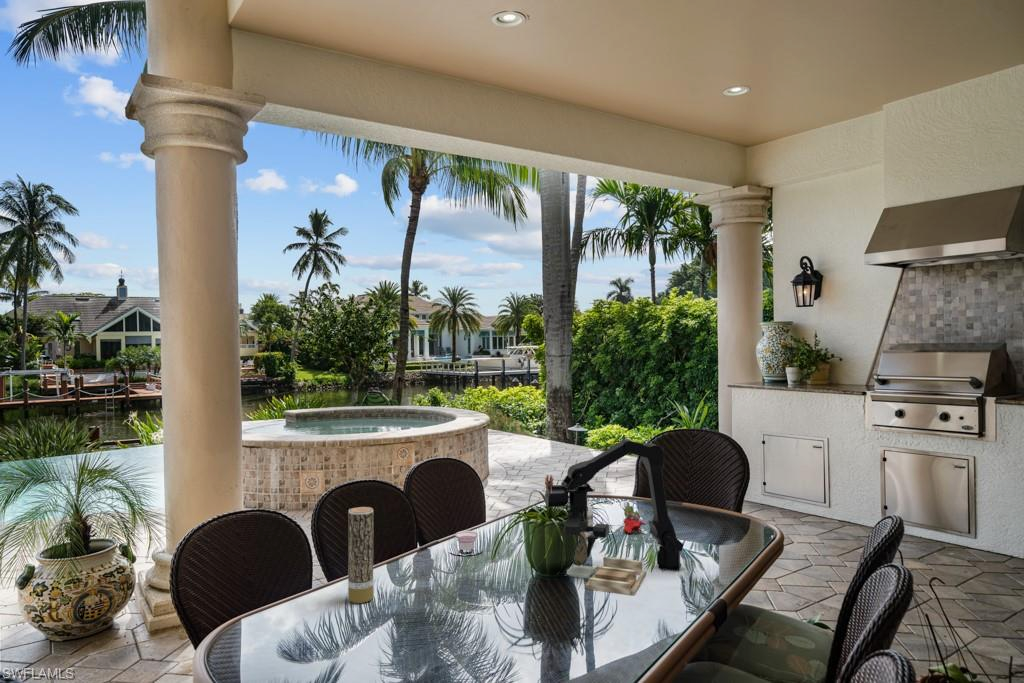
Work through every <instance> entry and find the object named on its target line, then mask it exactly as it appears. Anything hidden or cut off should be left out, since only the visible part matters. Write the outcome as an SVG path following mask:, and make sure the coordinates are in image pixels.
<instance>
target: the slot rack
mask: <svg viewBox="0 0 1024 683" xmlns="http://www.w3.org/2000/svg"><path fill="white" fill-rule="evenodd" d="M602 560H603V562H602V563H603V565H596V566H595V567H596V570H595V571H594V572H593V573H594V574H592V575H591V576H590V577H589V578H588V581H587V582H586V583H585V584H584V589H585V590H594V591H601V592H607V593H615V594H623V595H627V596H635V595H636V593H637V591H638V590H637V589H639V588H640V586H641V584H642V583H643V581H644V579H645V577H646V576H647V571H645V570H643V560H635V559H627V558H619V557H618V558H617V557H610V556H609V557H608V556H604V557H603V558H602ZM599 569H602V570H610V571H618V572H626V573H629V579H630V580H635V584H634V585H633V587H632V589H631V583H628V582H621V581H613V580H605V579H598V578H595V574H596V573H597V571H598V570H599ZM636 574H637V575H636ZM645 575H646V576H645ZM637 576H638V577H637ZM641 582H642V583H641Z"/></svg>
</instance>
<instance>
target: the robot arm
mask: <svg viewBox="0 0 1024 683" xmlns="http://www.w3.org/2000/svg"><path fill="white" fill-rule="evenodd" d="M629 454H631V455H637V456H640V458H641V460H642V463H643V465H644V467H645V469H646V472H647V478H648V484H649V490H650V498H651V504H652V512H653V517H652V519H651V520H648V521H647V522H648V525H649V533H650V534H651V535H652V537H653V539H655V540H656V542H657V544H658V545H659V547H658V549H659V550H658V551H657V555H656V556H657V561H656V562H657V565H658V566H657V568H658V569H660V570H661V569H662V570H667V571H668V570H669V571H677V572H679V571H680V569H681V567H682V563H681V552H682V551H683V548H684V543H682V542H681V541H680V540H679V539H678V538H677V534H676V530H675V528H674V525H673V523H672V520H671V518H670V516H669V514H668V512H669V511H668V507H667V499H666V498H667V497H666V492H665V491H666V490H665V485H664V479H663V478H664V477H663V469H664V466H665V450H664V449H663V448H662V447H660V445H657V444H654V443H652V442H646V443H644V444H643V443H640V442H638V441H637V442H636V441H632V440H630V439H628V438H623V439H622V440H621V441H620V442H618V443H616V444H615V445H612V447H609V448H608V449H607V450H605V451H603V452H602V453H600V454H598V455H596V456H595V457H593V458H591V459H587V460H584V461H580V462H578V463H575V464H573V465H570V466H569V468H567V469H568V470H567V475H566V476H565V477H564V478H563V480H562V481H561V483H560V484H555V485H554V484H551V485H552V493H551V491H550V489H549V486H548V489H549V492H550V496H549V492H548V490H547V488H546V489H545V493H544V503H545V507H546V508H560V507H561V508H562V507H566V505H568V506H569V508H568V511H567V512H568V513H567V517H566V519H565V520H564V522H565V523H564V529H565V531H566V533H567V535H570V536H574V535H575V536H579V535H580V533H581V532H589V533H590V535H589V536H588V537H587V538H588V549H587V557H588V558H590V555H591V554H592V551H593V548H594V544H595V542H596V540H598V539H599V538H602V539H603V538H607V537H608V535H609V534H610V533H611V531H610V526H609V524H607V523H596V524H595V525H593V526H588V515H587V511H588V508H587V500H588V493H593V492H594V491H595V489H594V488H592V487H591V486H590V484H589V482H590V481H591V480H592V479H593V478H594V477H595V476H596V475H597V473H599V472H600V471H601V470H603V469H605V468H607V467H609V466H610V465H611V464H613V463H615V462H616V461H619V460H620V459H622V458H623V457H625V456H627V455H629ZM568 503H569V504H568Z"/></svg>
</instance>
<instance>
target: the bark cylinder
mask: <svg viewBox="0 0 1024 683" xmlns="http://www.w3.org/2000/svg"><path fill="white" fill-rule="evenodd" d="M347 513H348V517H347V518H348V522H347V523H348V525H347V526H348V527H347V528H348V532H347V534H348V544H347V545H348V547H347V548H348V550H347V552H348V554H347V559H348V560H347V561H348V562H347V566H348V569H347V571H348V572H347V577H348V578H347V580H348V582H347V586H348V588H347V589H348V592H347V595H348V598H347V599H348V601H349V602H350V603H352V602H353V604H365V602H366V603H368V601H369V602H370V601H372V599H373V598H374V508H373V507H371V506H359V507H352V508H349V509H348V512H347Z"/></svg>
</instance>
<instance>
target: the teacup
mask: <svg viewBox="0 0 1024 683" xmlns="http://www.w3.org/2000/svg"><path fill="white" fill-rule="evenodd" d="M454 535H455V538H456V539H457V540H456V541H458V546H459V549H461V550H472V549H474V546H475V542H476V538H478V532H476V531H474V530H460V531H458V532H456V533H455V534H454ZM461 550H460V551H461Z"/></svg>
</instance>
